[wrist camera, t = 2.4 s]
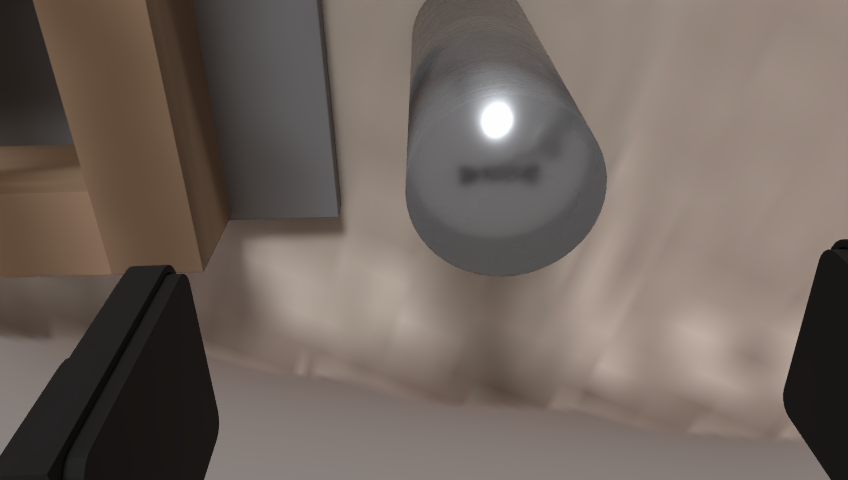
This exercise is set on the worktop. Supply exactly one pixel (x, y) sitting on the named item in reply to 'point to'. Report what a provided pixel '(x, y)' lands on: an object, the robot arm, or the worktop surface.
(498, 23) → the grey metallic cylinder
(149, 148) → the docking mount
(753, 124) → the worktop surface
